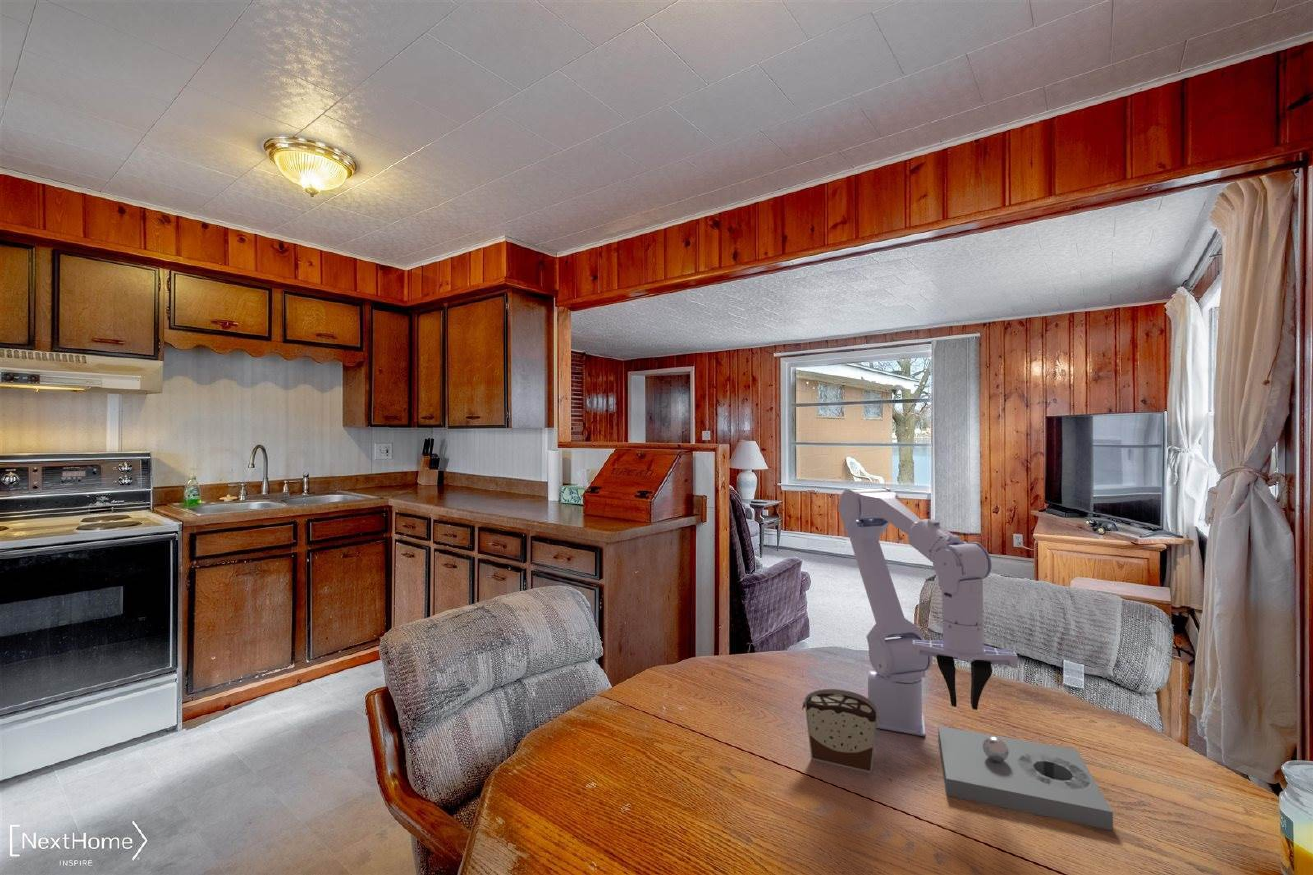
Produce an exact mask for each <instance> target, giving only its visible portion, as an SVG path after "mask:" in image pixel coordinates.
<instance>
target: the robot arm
mask: <svg viewBox="0 0 1313 875" xmlns="http://www.w3.org/2000/svg"><path fill="white" fill-rule="evenodd" d="M837 507H838V512H839V516H840V518H841V521H842V525H843V528H844V532H845V534H846V535H848V537H849V541H850V544H851V547H852V550H853V553H854V556H855V560H856V564H857V567H858V570H859V573H860V576H861V580H862V582H863V586H864V589H865V593H866V596H867V599H868V602H869V605H870V608H871V611H872V615H873V618H874V622H875V625H873V627H872V628H871V630H870V631H869V632H868V633H867V635H866V640H867V645H868V658H869V662H870V664H871V667H872V668H873V669H869V670H868V672H867V673H868V674H867V698H868V699H869V700H871V701H872V702H873V703H874V704H875V705H876V707H877V710H878V712H879V715H880V720H881V725H880V722H879V719H878V717H877V727H876V729H881V730H885V731H887V730H888V731H893V732H899V733H903V734H909V735H915V736H920V737H925V736H926V733H927V732H926V725H925V717H924V714H923V689H922V687H923V686H922V683H923V678H925V677H926V672H927V671H929V670H930V669H931V667H932V665H933V657H934V658H935V657H936V658H935V659H936V662H937V663H936V664H937V665H938V668H939V670H940V672H941V675H942V676H943V679H944V681H945V684H946V686H947V689H948V690H947V691H948V693H949V697H950V698H949V700H950V705H951V707H955V708H957V705H958V704H957V702H958V700H957V693H956V670H957V669H956V666H955V660H958V661H963V662H964V661H965V662H970V677H971V685H970V706H971V709H972V710H974V711H977V710H978V709H979V708H978V707H979V701H980V700H981V699H980V698H981V696H982V692H983V690H984V688H985V686H986V684H987V682H988V681H989V679H990V678H991V677H992V675H993V667H992V665H999V666H1000V665H1001V666H1006V667H1007V666H1008V667H1009V668H1012V669H1018V665H1019V664H1018V655H1017V653H1016V652H1015V651H1014V650H1007V649H1001V648H996V647H992V646H987V645H985V644H984V587H983V586H984V581H983V580H984V579H986V578H987V577H989V576H990V574H991V572H992V564H993V563H992V560H991V559H992V558H991V555H990V554H989V552H988V550H987V549H986V548H985V547H984V546H983V545H981V543H979V542H976V541H971V542H967V541H963V540H962V539H961V538H960V536H958V535H957V534H953V533H952V532H950V531H949V530H947V529H946V528H945V527H943V526H942V525H941V522H940V521H939V520H937V519H935V518H933V519H932V518H931V519H929V518H925V519H921V518H920V517H918V516H917V515H916V514H915V512H913V511H912V510H910V509H909V508H908V507H907V506H905V505H904V504H903V503H902V501H900V500H899V496H898V493H896V492H894V491H893V490H892V489H891V488H888V487H881V488H863V489H862V488H861V489H851V488H847V489H845V490H843V491H842V493H841V495H840V498H839V502H838V506H837ZM890 524H891V525H892V526H894V527H896V528H897V529H898V530H900V531H901V532H903V533H904V534H905V535H908V537H907V539H908V543H909V545H910V546H911V547H912V548H914V549H915V550H916V551H917V552H919V553H920V554H922V556H924V557H925V558H926V559H928V561H930V562H931V563H932V566H933V570H934V572H935V574H936V576H937V581H938V582H937V583H938V586H939V590H940V591H941V605H942V606H941V609H942V610H941V613H942V640H926V639H925V638H924V636H923V634H922V631H921V629H920V627H919V626H917V625H916V624H915V623H913V622H911V621H909V619H906V617H905V615H904V612H903V609H902V606H901V603H900V600H899V597H898V593H897V591H896V589H895V585H894V583H893V579H892V577H891V573H890V571H889V567H888V565H887V561H886V558H885V556H884V553H883V550H882V546H881V543H880V541H879V538H880V535H881V534H883V533H884V532H886V530H887V529H888V527H889V526H890Z"/></svg>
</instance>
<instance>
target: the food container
mask: <svg viewBox="0 0 1313 875" xmlns="http://www.w3.org/2000/svg"><path fill="white" fill-rule="evenodd" d="M804 709H805V715H806V716H805V717H806V725H807V732H808V743H809V751H810V759H811V760H812V761H817V762H821V763H826V764H829V765H833V766H839V767H842V768H846V769H847V768H848V769H852V770H856V771H861V772H865V773H869V774H872V773H873V765H874V754H875V744H876V736H877V728H876V727H877V717H878V719H879V722H880V725H881V720H880V715H879V712H878V710H877V707H876V705H875V704H874V703H873V702H872V701H871V700H869V699H868V697H866V696H864V695H862V694H860V693H856V692H853V691H850V690H849V691H848V690H845V689H836V688H823V689H818V690H814V691H811V692H809V693H808V694H807V695H806V696H805V697H804V699H803V701H802V706H801V710H802V711H803V710H804Z"/></svg>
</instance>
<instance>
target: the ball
mask: <svg viewBox="0 0 1313 875" xmlns="http://www.w3.org/2000/svg"><path fill="white" fill-rule="evenodd" d="M995 736H996V735H994V736H990V737H987V738H986V739H985V740H984V742H983V750H984V753H985V754H986V756H987V757H988V758H990V759H991V760H993V761H996V762H1002V761H1004V760H1006V759H1007V757H1008V754H1009V750H1008V747H1007V745H1006V743H1005V742H1004V741H1003V740H1002V739H1000V738H998V737H995Z"/></svg>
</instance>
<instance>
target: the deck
mask: <svg viewBox="0 0 1313 875" xmlns="http://www.w3.org/2000/svg"><path fill="white" fill-rule="evenodd" d="M937 727H938V733H937V734H938V735H937V736H938V737H937V738H938V748H939V754H940V760H941V766H942V767H941V768H942V773H943V780H944V786H945V787H944V788H945V795H946V796H949V797H953V798H958V799H961V800H962V799H963V800H966V801H971V802H977V803H981V804H986V805H991V806H995V807H999V808H1000V807H1001V808H1006V809H1009V810H1014V811H1018V812H1024V813H1028V814H1032V815H1037V816H1042V817H1046V818H1047V817H1048V818H1052V819H1056V820H1060V821H1066V822H1070V823H1074V824H1081V825H1085V826H1089V827H1095V828H1099V829H1103V830H1109V831H1114V814H1113V813H1114V812H1113V810H1112V808H1111V807H1110V805H1109V803H1108V802H1107V799H1106V798H1105V796H1104V794H1103V793H1102V791H1101V789H1100V788H1099V785H1098V784H1097V782H1096V780H1095V778H1094V777H1093V774H1092V773H1091V772H1090V770H1089V768H1088V766H1087V765H1086V763H1085V761H1084V760H1083V758H1082V756H1081V754H1080V751H1079V750H1078V749H1075V748H1071V747H1069V748H1068V747H1064V746H1060V745H1059V746H1058V745H1052V744H1046V743H1041V742H1034V741H1029V740H1023V739H1017V738H1016V739H1015V738H1011V737H1005V736H999V735H994V734H987V733H984V732H983V733H981V732H975V731H969V730H965V729H958V728H951V727H946V726H940V725H938V726H937ZM990 736H995V737H998V738H1000V739H1002V740H1003V741H1004V742H1005V743H1006V745H1007V747H1008V750H1009V754H1008V757H1007V759H1006V760H1004V761H1002V762H996V761H993V760H991V759H990V758H988V757H987V756H986V754H985V753H984V750H983V742H984V740H985V739H986V738H987V737H990Z"/></svg>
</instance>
